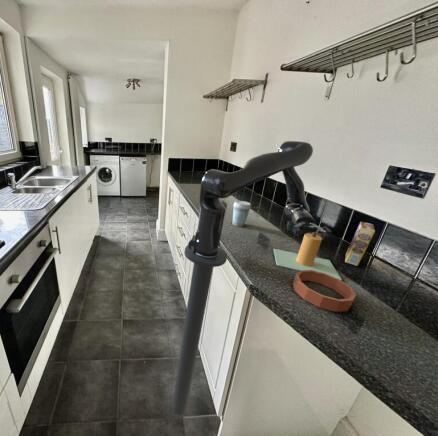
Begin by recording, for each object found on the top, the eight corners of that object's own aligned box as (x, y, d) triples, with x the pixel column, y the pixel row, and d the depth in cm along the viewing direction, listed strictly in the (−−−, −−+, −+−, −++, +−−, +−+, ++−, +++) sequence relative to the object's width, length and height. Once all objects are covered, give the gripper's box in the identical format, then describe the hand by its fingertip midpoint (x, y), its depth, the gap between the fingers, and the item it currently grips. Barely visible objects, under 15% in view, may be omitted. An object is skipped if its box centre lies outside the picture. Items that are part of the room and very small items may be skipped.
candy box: (359, 267, 88) (375, 230, 82) (344, 262, 90) (360, 227, 85) (358, 258, 94) (374, 224, 89) (345, 254, 97) (359, 221, 91)
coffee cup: (226, 223, 122) (230, 202, 118) (234, 220, 127) (238, 199, 123) (241, 229, 116) (247, 206, 112) (249, 225, 122) (254, 203, 117)
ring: (297, 301, 68) (301, 291, 66) (289, 275, 80) (293, 265, 79) (358, 318, 63) (364, 307, 61) (340, 287, 75) (344, 277, 74)
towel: (276, 265, 86) (277, 264, 85) (273, 249, 98) (273, 248, 98) (341, 280, 79) (342, 279, 79) (329, 261, 91) (329, 260, 91)
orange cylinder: (297, 264, 87) (307, 234, 82) (294, 257, 91) (304, 228, 87) (314, 267, 85) (325, 237, 80) (310, 260, 90) (321, 231, 85)
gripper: (287, 210, 101) (293, 222, 87) (325, 216, 96) (338, 230, 82) (282, 225, 104) (287, 240, 90) (319, 232, 99) (331, 248, 85)
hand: (311, 235), depth 86 cm, fingers open, 8 cm apart
